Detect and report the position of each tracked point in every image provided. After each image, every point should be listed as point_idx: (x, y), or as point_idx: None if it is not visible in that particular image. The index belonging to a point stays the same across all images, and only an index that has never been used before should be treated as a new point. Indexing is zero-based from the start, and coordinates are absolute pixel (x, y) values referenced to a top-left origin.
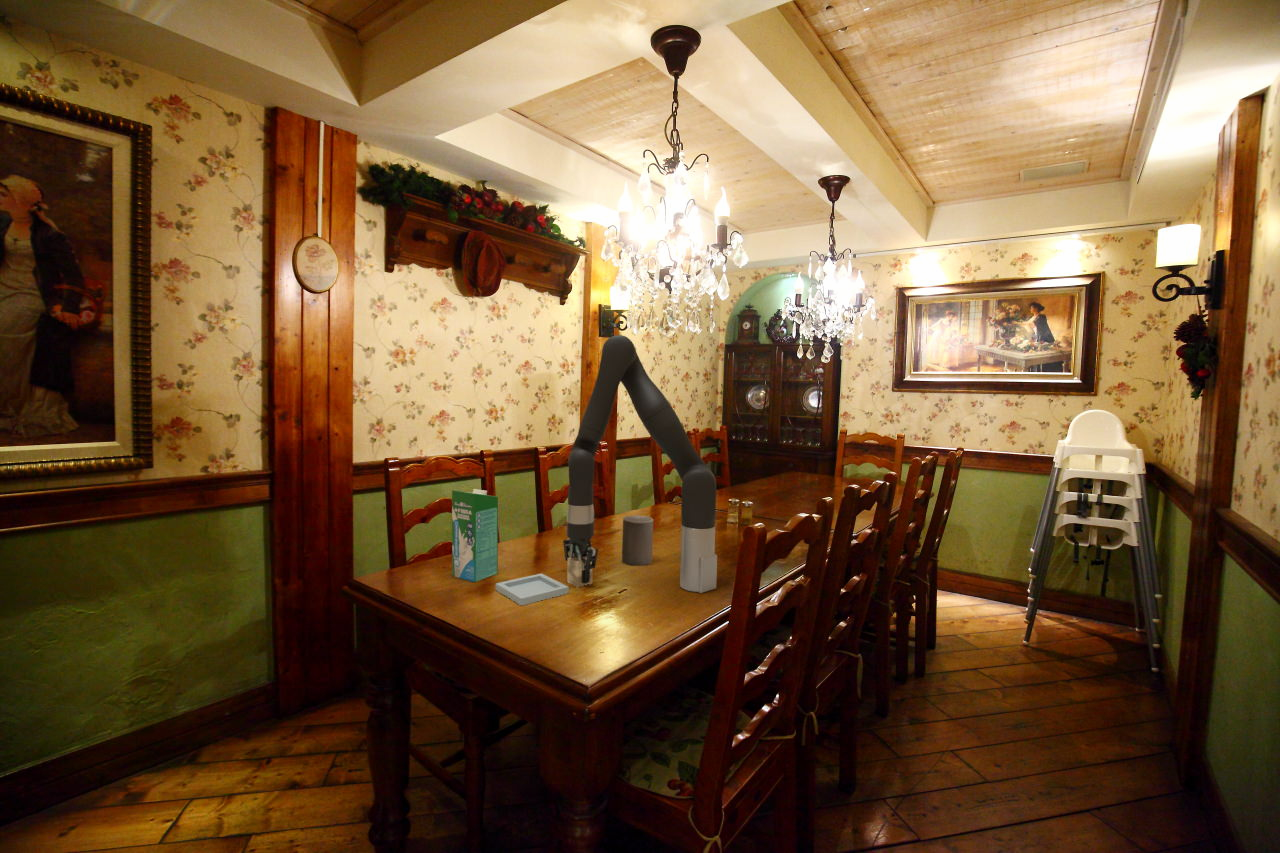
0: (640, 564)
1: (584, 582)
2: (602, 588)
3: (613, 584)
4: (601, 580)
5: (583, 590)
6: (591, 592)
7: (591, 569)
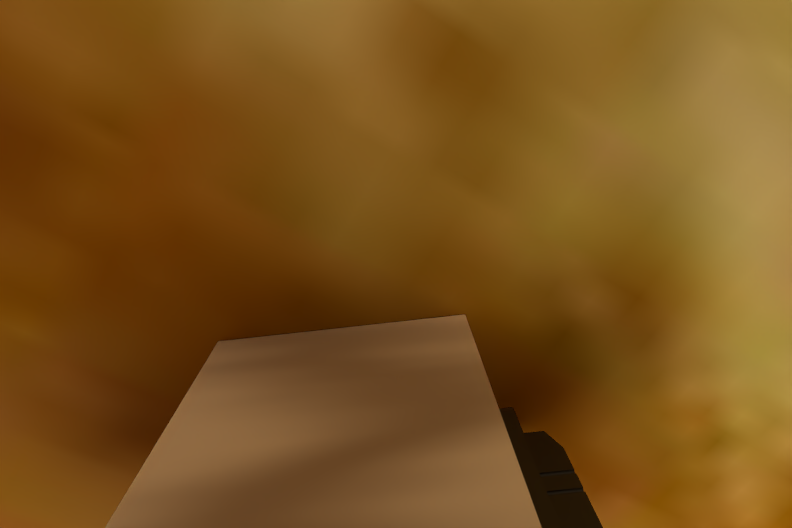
0: None
1: None
2: (700, 287)
3: (683, 59)
4: (413, 129)
5: (600, 492)
6: (713, 452)
7: (518, 476)
